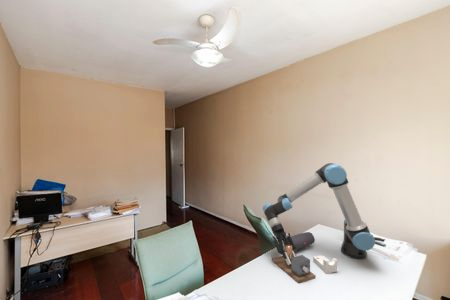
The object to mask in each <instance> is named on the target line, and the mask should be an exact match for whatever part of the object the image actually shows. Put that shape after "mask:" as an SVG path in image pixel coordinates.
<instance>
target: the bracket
mask: <svg viewBox="0 0 450 300" xmlns="http://www.w3.org/2000/svg"><path fill="white" fill-rule="evenodd" d="M312 262H313V264H315V265H316V266H317V268H319V269H320V270H321V271H322V272H324V274H325V275H328V274H332V273H336V272H338V259H337V258H336V257H333V258H332V260H330V259H328V258H327V257H326V256H324V255H317V256H315V255H314V256H312Z"/></svg>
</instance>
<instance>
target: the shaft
mask: <svg viewBox="0 0 450 300" xmlns="http://www.w3.org/2000/svg"><path fill="white" fill-rule="evenodd" d="M284 248H285V247H284ZM284 251H285V252H286V253H287V255H288V257H289V260H290V262H291V258H292V245H289V244H287V245H286V248H285V249H284ZM285 263H286V264H287V262H286V260H285ZM290 265H291V264H290ZM302 270H303V271H305V272H306V273H308V272H309V269H308V268H307V267H305V266H302Z"/></svg>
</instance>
